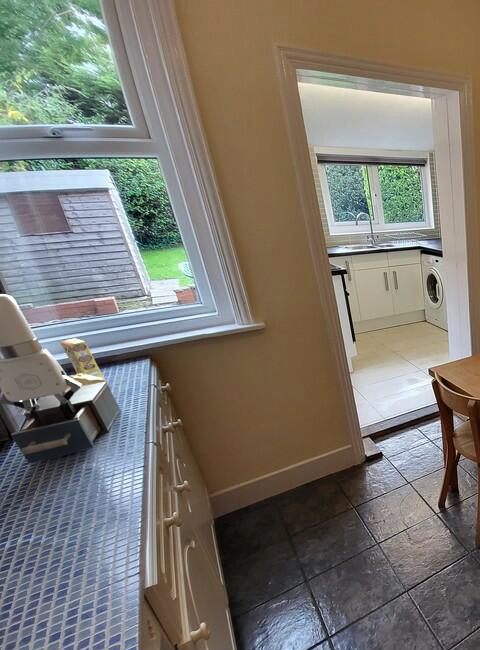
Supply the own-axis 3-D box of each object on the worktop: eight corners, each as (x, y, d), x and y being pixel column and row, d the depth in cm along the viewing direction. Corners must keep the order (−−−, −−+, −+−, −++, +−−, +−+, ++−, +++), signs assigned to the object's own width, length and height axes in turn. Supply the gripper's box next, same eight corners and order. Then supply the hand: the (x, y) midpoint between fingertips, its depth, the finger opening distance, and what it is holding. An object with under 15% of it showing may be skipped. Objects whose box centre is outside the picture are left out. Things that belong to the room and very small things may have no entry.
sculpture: (123, 400, 128) (107, 368, 124) (80, 419, 118) (62, 385, 113) (94, 398, 130) (77, 367, 126) (49, 417, 120) (29, 383, 115)
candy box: (107, 382, 142) (86, 340, 136) (91, 387, 139) (69, 344, 133) (96, 378, 146) (75, 337, 140) (81, 383, 143) (58, 341, 137)
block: (44, 425, 99) (35, 411, 97) (50, 418, 102) (41, 404, 100) (66, 420, 101) (58, 406, 99) (71, 414, 104) (63, 400, 102)
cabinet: (108, 431, 110) (91, 400, 106) (44, 446, 104) (23, 414, 100) (120, 410, 122) (106, 381, 118) (63, 423, 116) (45, 393, 112)
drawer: (87, 457, 97) (71, 429, 94) (20, 474, 92) (0, 445, 89) (107, 425, 112) (93, 399, 108) (49, 438, 107) (33, 411, 103)
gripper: (-46, 363, 87) (3, 436, 94) (61, 346, 94) (98, 415, 102) (-28, 353, 93) (17, 423, 100) (71, 338, 100) (106, 404, 108)
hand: (57, 418), depth 101 cm, fingers closed on block, 4 cm apart
